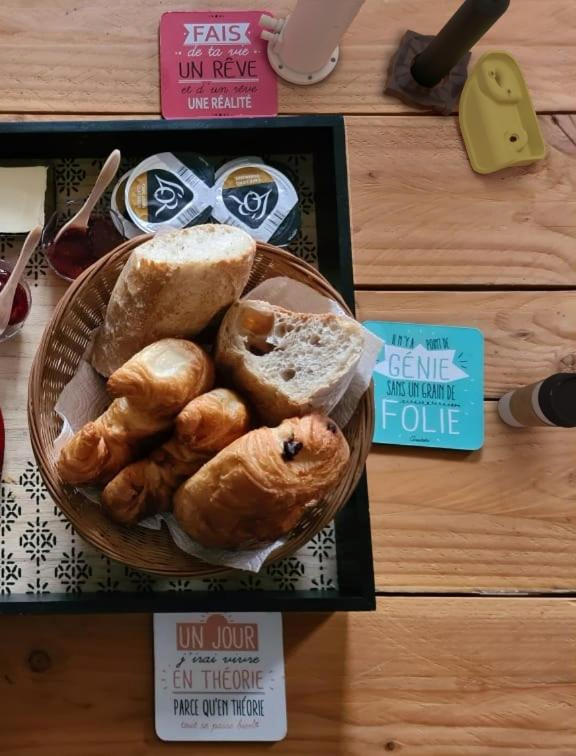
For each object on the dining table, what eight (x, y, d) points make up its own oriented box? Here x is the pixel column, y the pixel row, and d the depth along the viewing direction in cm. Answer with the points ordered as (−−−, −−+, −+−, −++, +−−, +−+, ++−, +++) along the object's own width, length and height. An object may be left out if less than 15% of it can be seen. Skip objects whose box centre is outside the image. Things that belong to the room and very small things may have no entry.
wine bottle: (402, 67, 131) (501, -55, 102) (430, 56, 132) (537, -70, 102) (417, 94, 131) (521, -21, 101) (445, 83, 131) (557, -35, 101)
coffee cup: (550, 407, 122) (617, 396, 108) (519, 444, 121) (583, 438, 107) (510, 373, 123) (572, 358, 108) (479, 410, 122) (537, 399, 107)
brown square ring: (378, 95, 130) (383, 89, 128) (400, 31, 132) (405, 24, 130) (449, 121, 130) (455, 115, 128) (470, 56, 132) (476, 50, 130)
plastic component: (549, 158, 126) (516, 160, 122) (507, 175, 133) (475, 178, 128) (517, 50, 128) (483, 48, 123) (477, 73, 134) (444, 72, 129)
